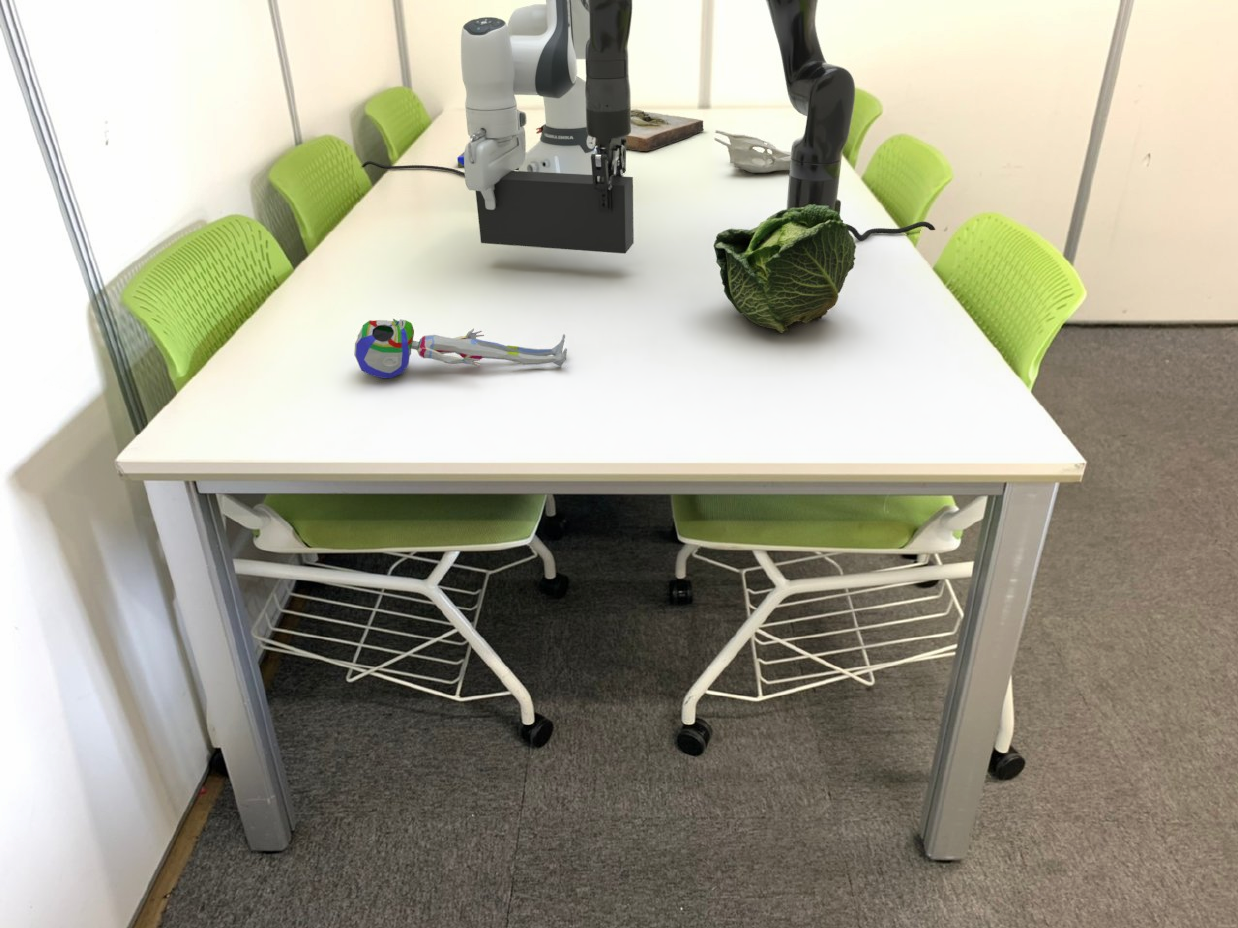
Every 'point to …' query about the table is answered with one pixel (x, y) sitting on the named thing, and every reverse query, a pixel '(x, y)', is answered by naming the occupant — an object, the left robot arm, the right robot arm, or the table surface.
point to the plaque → (659, 130)
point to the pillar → (461, 160)
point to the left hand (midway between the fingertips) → (499, 202)
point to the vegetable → (786, 265)
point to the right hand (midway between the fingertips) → (610, 206)
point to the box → (557, 213)
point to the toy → (435, 349)
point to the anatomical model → (754, 154)
